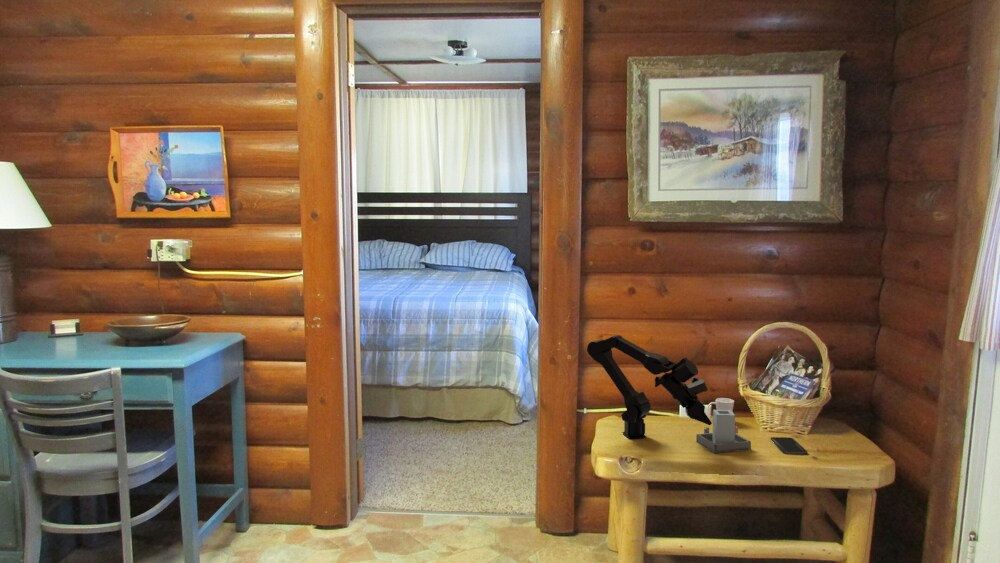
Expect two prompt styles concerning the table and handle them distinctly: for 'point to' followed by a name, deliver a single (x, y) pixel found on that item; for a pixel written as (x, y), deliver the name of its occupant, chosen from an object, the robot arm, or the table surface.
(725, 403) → the cup
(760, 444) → the table surface
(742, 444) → the tray
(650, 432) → the table surface
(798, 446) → the phone
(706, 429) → the grey metal capsule
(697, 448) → the table surface
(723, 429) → the sleeve
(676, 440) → the table surface
